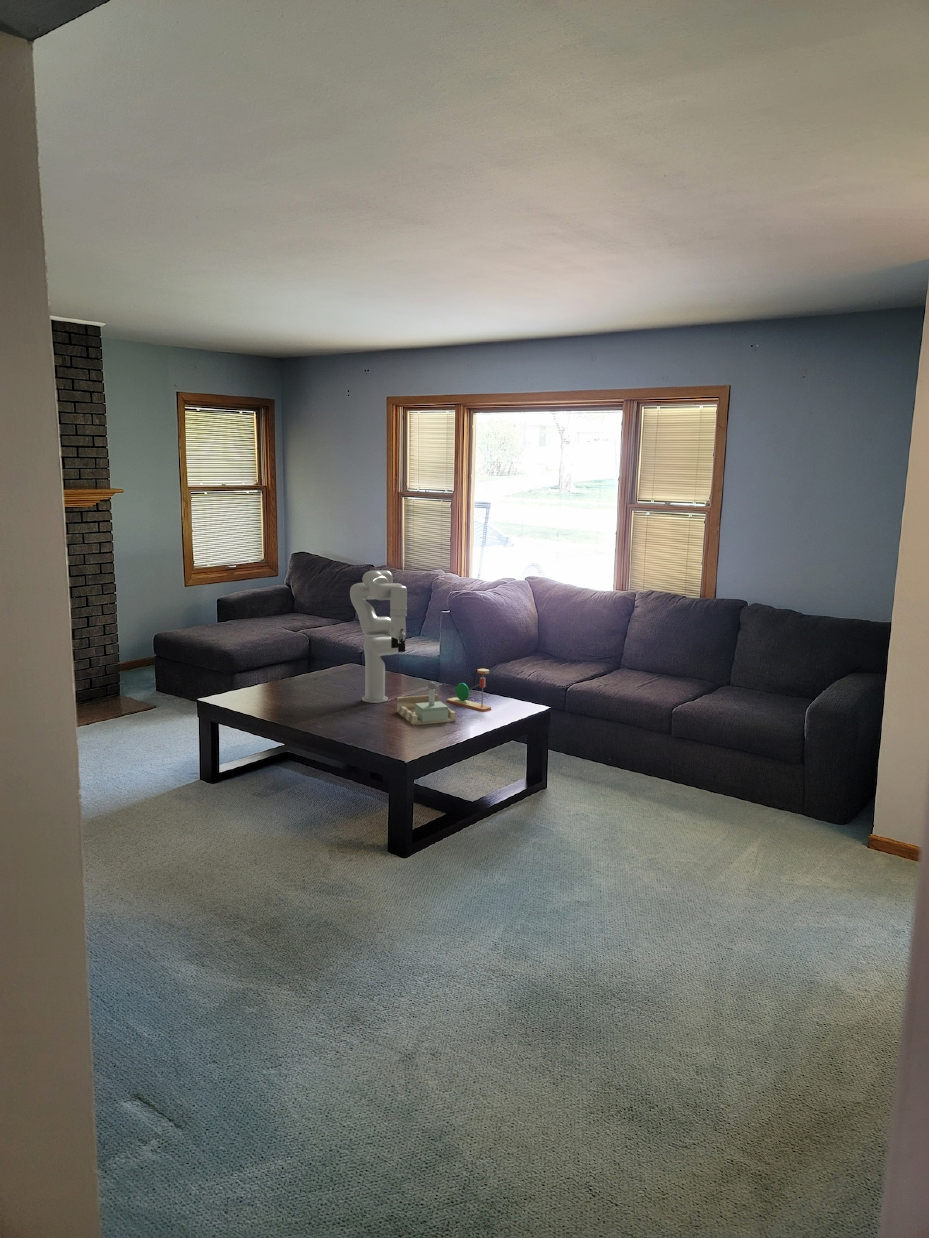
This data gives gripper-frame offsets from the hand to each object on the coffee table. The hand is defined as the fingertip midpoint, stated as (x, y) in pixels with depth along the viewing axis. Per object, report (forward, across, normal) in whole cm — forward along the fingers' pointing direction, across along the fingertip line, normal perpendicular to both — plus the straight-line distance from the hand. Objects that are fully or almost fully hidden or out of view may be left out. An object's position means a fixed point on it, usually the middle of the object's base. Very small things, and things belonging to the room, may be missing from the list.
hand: (398, 649), depth 402 cm
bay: (+30, +8, +11) cm, 33 cm away
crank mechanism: (+31, -4, +38) cm, 49 cm away
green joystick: (+29, +15, +11) cm, 35 cm away
